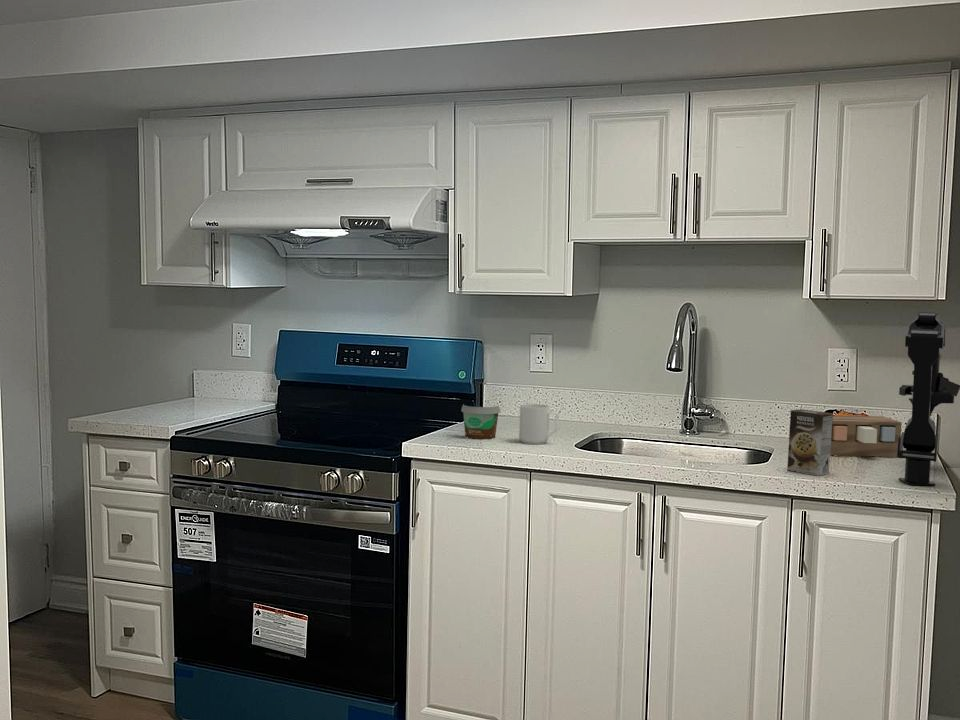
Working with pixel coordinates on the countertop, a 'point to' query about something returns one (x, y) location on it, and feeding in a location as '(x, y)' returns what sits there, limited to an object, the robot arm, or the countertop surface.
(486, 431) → the food container
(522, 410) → the mug
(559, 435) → the countertop surface
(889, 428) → the key slate
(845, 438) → the key terracotta
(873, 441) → the key ivory
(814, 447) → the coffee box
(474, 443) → the countertop surface
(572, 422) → the countertop surface
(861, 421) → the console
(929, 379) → the robot arm
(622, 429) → the countertop surface
